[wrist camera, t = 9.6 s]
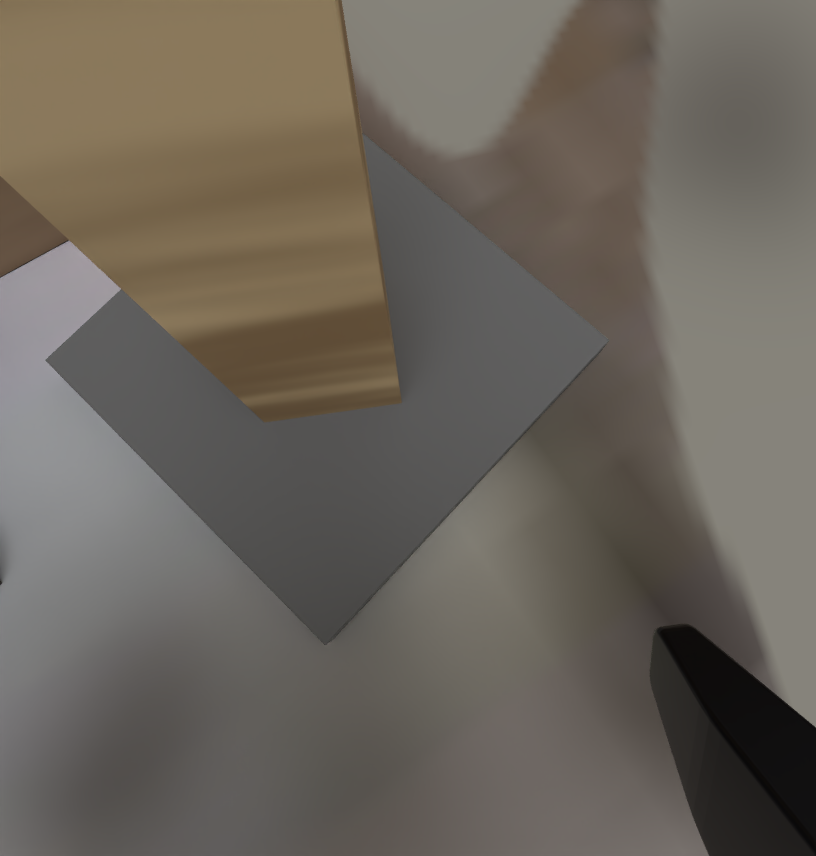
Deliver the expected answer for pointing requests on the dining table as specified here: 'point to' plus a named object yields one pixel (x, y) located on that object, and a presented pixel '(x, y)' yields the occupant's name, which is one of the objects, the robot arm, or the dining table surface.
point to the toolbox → (22, 231)
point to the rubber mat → (349, 430)
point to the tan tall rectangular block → (211, 182)
